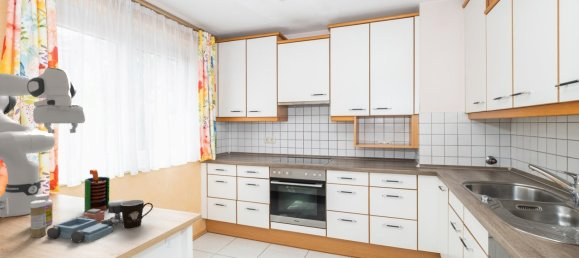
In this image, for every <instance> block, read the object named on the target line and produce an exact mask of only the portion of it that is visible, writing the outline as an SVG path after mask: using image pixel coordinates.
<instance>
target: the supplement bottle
mask: <svg viewBox="0 0 579 258" xmlns="http://www.w3.org/2000/svg"><path fill="white" fill-rule="evenodd" d="M37 200H45V201H46V207H45V210H46V227H47V226H50V225H52V223H53V208H54V207H53V204H54V203H53V200H51V199H50V193H43V194H39V195H36V196H35V201H37Z"/></svg>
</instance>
